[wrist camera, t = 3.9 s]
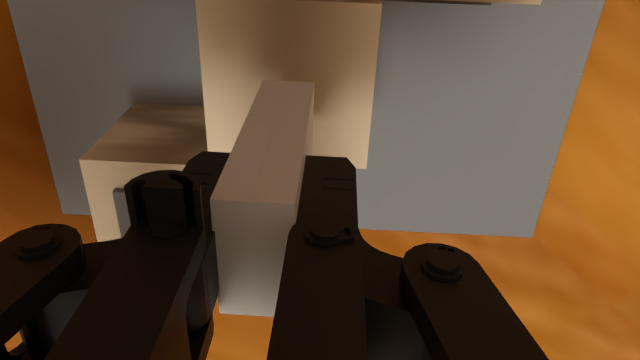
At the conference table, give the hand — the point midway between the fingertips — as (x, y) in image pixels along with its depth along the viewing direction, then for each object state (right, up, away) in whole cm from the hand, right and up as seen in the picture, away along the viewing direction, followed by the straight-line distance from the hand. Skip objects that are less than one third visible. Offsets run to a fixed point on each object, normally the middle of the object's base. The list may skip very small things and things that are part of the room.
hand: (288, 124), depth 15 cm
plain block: (0, +5, +8) cm, 9 cm away
